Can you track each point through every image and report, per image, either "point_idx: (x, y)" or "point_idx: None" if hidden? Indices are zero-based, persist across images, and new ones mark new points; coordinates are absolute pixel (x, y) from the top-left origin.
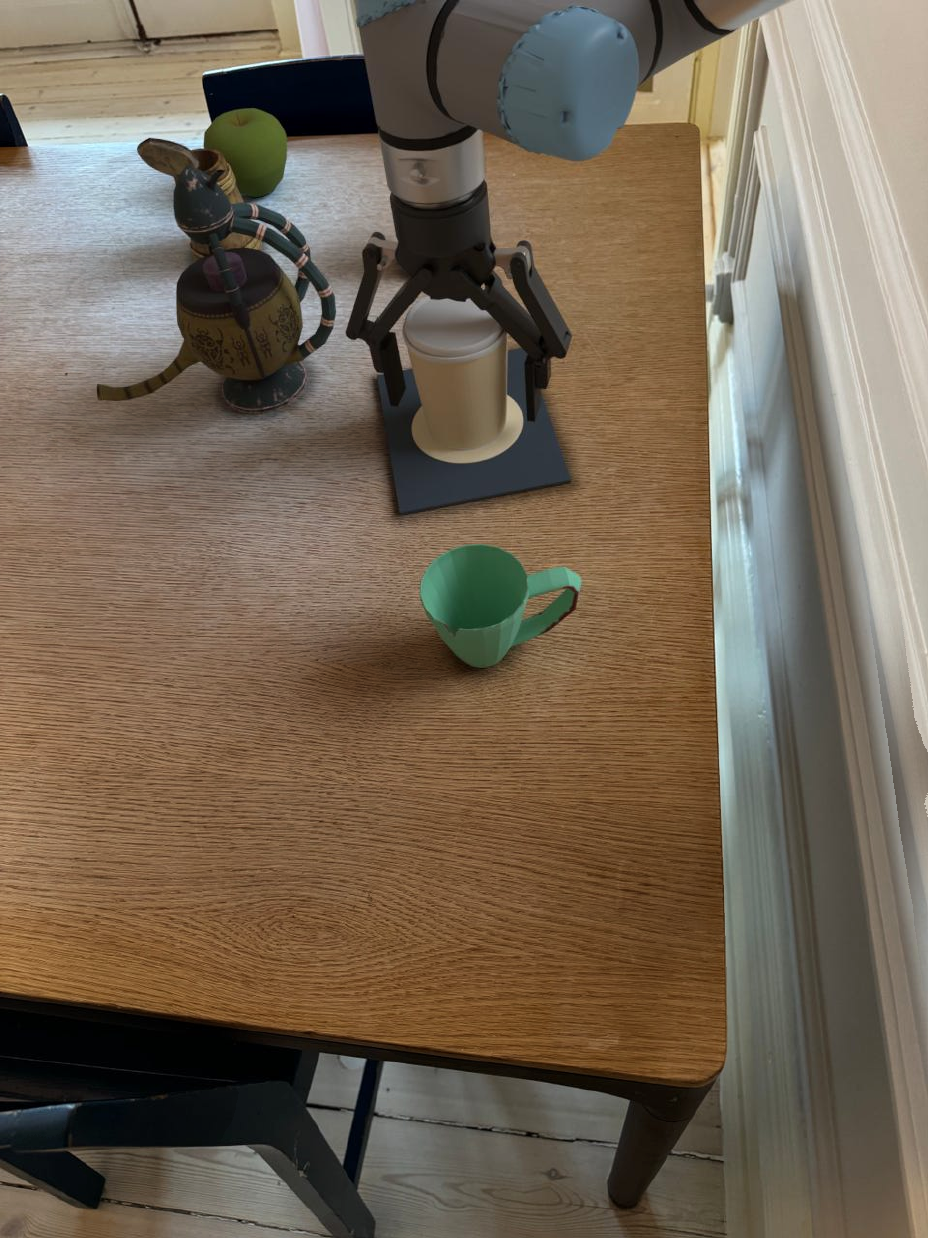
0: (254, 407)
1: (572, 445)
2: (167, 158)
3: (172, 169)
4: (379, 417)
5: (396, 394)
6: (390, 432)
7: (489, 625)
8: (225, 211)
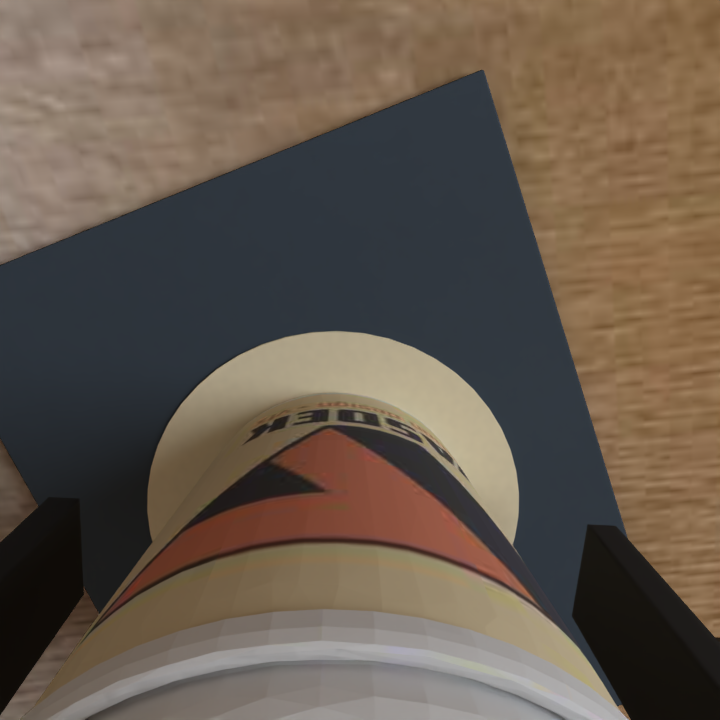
0: None
1: (669, 546)
2: None
3: None
4: (25, 491)
5: (61, 618)
6: (91, 575)
7: None
8: None
